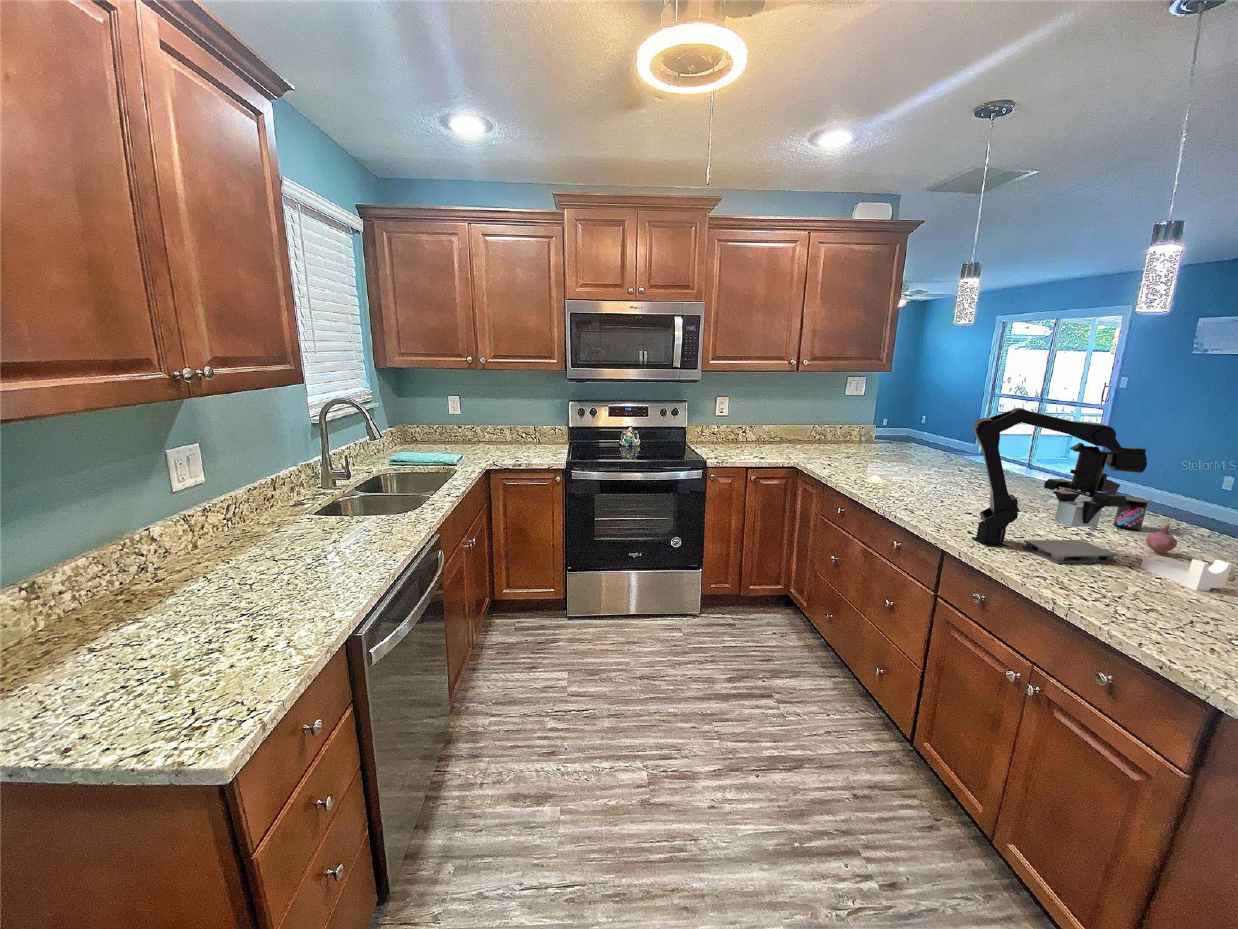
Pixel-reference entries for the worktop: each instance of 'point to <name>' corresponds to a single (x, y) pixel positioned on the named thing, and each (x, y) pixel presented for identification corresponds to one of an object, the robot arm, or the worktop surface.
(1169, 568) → the bracket
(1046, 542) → the stand
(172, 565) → the worktop surface
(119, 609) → the worktop surface
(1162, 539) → the vegetable
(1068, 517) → the housing
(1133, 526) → the supplement container
